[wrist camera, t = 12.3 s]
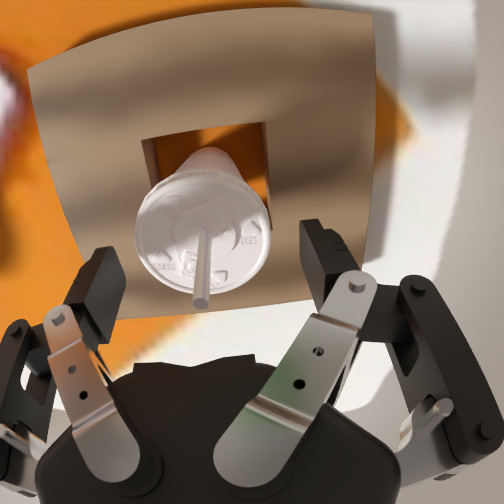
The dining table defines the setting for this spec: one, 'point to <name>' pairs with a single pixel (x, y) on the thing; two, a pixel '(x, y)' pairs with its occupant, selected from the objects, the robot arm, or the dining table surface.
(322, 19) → the socket board
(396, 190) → the dining table surface
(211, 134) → the dining table surface
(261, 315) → the dining table surface
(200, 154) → the smoothie
